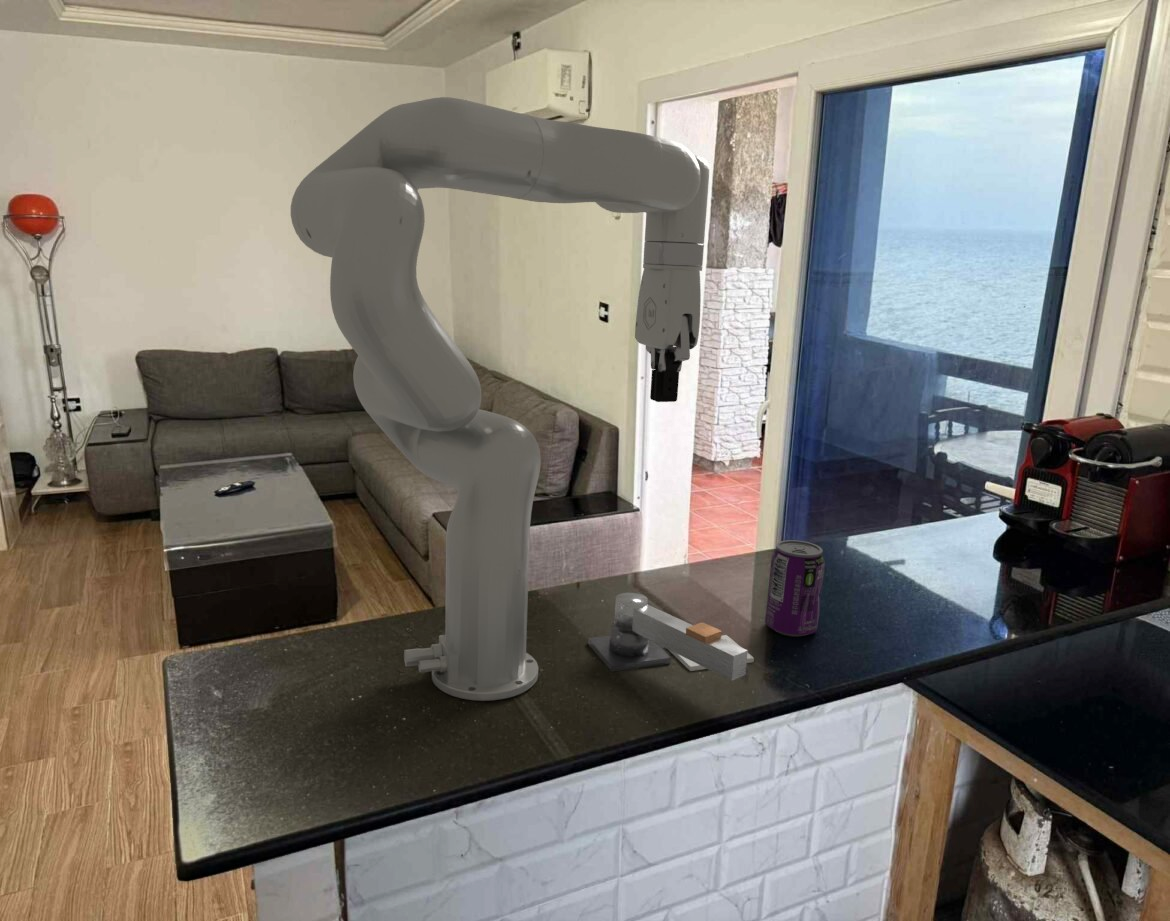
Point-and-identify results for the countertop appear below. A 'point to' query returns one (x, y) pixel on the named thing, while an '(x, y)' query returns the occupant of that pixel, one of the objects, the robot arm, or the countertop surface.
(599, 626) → the countertop surface
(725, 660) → the grey long bar
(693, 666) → the label plate
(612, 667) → the pivot pedestal
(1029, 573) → the countertop surface
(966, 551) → the countertop surface
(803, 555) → the beverage can
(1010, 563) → the countertop surface
